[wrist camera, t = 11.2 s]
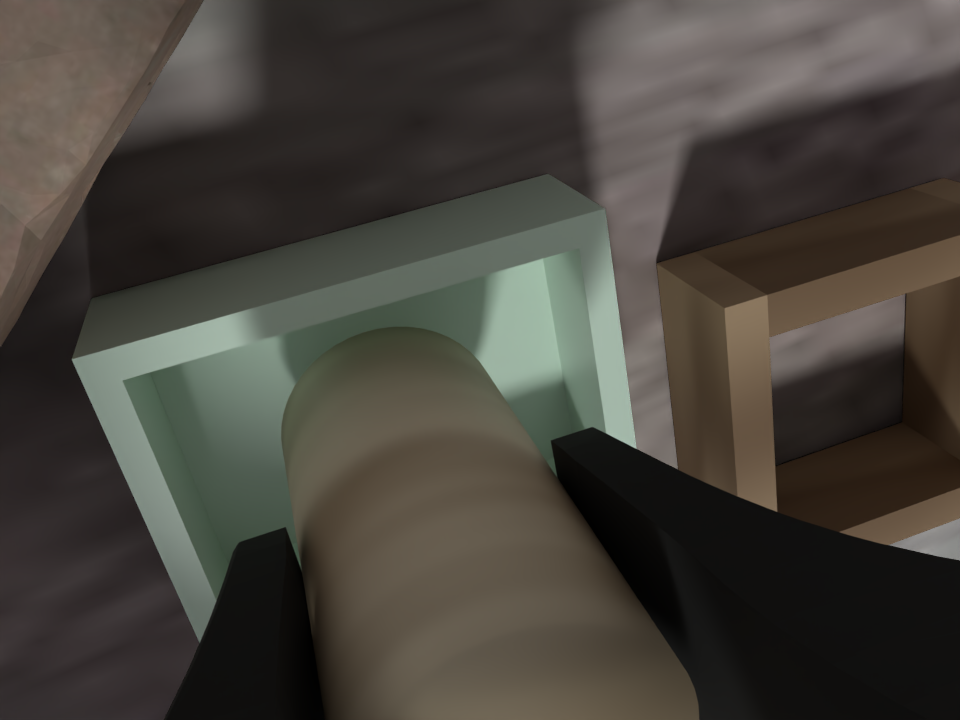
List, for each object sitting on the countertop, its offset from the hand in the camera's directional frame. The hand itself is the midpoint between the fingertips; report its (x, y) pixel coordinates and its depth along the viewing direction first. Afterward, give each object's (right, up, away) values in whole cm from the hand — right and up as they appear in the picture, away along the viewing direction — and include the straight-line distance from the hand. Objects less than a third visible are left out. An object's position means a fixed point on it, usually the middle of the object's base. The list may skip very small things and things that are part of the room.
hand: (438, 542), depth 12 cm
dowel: (-1, +1, +3) cm, 3 cm away
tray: (-1, +2, +4) cm, 5 cm away
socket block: (+8, +2, +7) cm, 11 cm away
